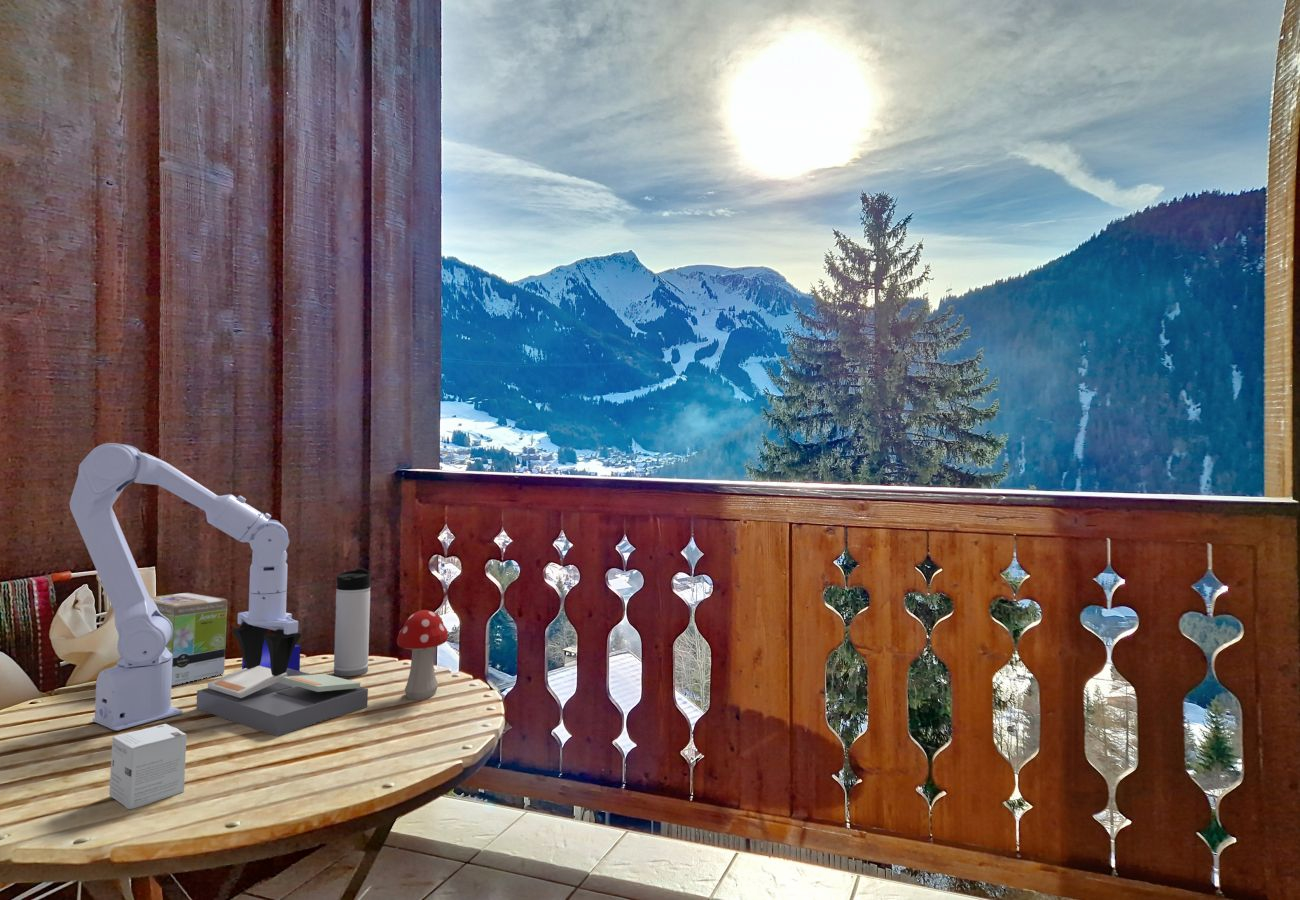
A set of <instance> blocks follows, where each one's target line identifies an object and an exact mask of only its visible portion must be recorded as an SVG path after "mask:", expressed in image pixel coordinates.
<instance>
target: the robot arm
mask: <svg viewBox="0 0 1300 900" xmlns="http://www.w3.org/2000/svg"><path fill="white" fill-rule="evenodd" d="M77 474H78V475H77V478H76V480H75V483H74V487H73V489H72V494H71V497H70V500H69V508H70V510H69V511H71V515H72V516H73V518H74V522H75V523H76V526H77V528H78V530H79V533H80V535H81V537H82V540H83V542H84V544H85V547H86V549H87V551H88V554H89V556H90V558H91V561H92V563H93V565H94V568H95V570H96V573H97V574H98V578H99V580H100V581H101V584H102V586H103V589H104V591H105V593H106V596H107V599H108V600H109V603H110V604H111V607H112V610H113V613H114V614H113V615H114V626H115V628H116V631H117V634H118V640H117V647H116V649H117V653H118V655H119V657H118V660H117V664H116V665H113V666H111V667H109V668H104V669H102V670H101V671H99V673H98V675H97V678H96V684H95V700H94V701H95V702H94V703H95V705H94V707H95V708H94V717H93V718H92V722H94V723H97V724H99V725H101V726H104V727H106V728H108V729H111V730H114V731H121V730H124V729H129V728H132V727H136V726H139V725H140V726H141V725H143V724H147V723H150V722H151V723H152V722H155V721H158V720H161V719H166V718H169V717H173V716H176V715H181V714H182V713H183V710H182V709H180V708H177V707H175V706H172V686H173V685H172V657H173V654H172V653H170V652H169V651H168V649H167V648H166V645H167V644H168V643H169V641H170V640H171V638H172V636H173V626H172V623H171V622H170V620H169V619H168V618H166V617H165V616H163V615H162V614H161V613H160V612H159V610H158V608H157V605H156V604H155V602H154V601H153V600H152V599H151V598H150V597H151V596H150V594H149V592H148V590H147V588H146V585H145V583H144V580H143V577H142V575H141V573H140V571H139V569H138V565H137V563H136V560H135V559H134V557H133V554H132V552H131V550H130V546H129V544H128V542H127V540H126V537H125V535H124V532H123V530H122V528H121V526H120V523H119V520H118V519H117V516H116V513H115V511H114V509H113V505H115V502H116V501H117V499H118V498H119V497H120V495H121V494H122V492H123V490H124V489H125V488H127V486H129V485H130V484H132V483H134V484H145V485H155V486H159V487H161V488H163V489H165V490H166V491H168V492H170V493H172V494H174V495H175V496H178V498H181V499H183V500H185V501H186V502H188V503H190V504H191V505H193V506H195V507H197V508H199V509H201V510H202V511H204V513H205V516H206V522H207V523H208V524H210V525H211V526H213V527H214V528H217V530H220V531H221V532H223V533H225V535H226V534H227V535H228V536H230V537H232V538H234V540H237V542H238V541H239V542H241V543H249V546H250V549H251V550H252V555H251V564H250V566H249V588H248V589H249V592H248V611H241V612H238V613H237V625H240V626H239V627H234V628H233V629H232V634H233V636H235V638H236V640H237V641H238V644H239V648H240V650H241V652H242V653H241V654H242V657H243V658H244V662H245V666H246V668H247V669H249V668H254V667H256V666H260V663H261V658H262V649H263V644H264V640H265V641H266V643H267V646H268V649H269V654H270V665H271V673H272V675H273V676H276V675H280V674H283V673H286V670H287V667H288V664H289V660H290V657H291V654H292V651H293V649H294V647H295V645H297V643H298V642H299V640H300V639H301V637H302V631H301V630H300V631H299V621H298V620H295V619H293V618H292V617H293V614H292V613H290V612H287V596H288V595H287V590H288V563H287V560H288V553H287V549H288V547H289V545H290V539H289V533H288V530H287V528H286V526H284V525H283V524H282V523H281V522H280V521H279V520H276V519H271V518H272V514H270V513H268V512H266V513H265V514H264V513H263V512H261V511H259V510H257V509H256V508H255V507H253V506H251V505H250V504H248V503H246V501H247V498H245V497H243V496H242V495H238V497H236V496H235V495H233V494H231V493H230V494H224V495H217V494H216V493H214V492H213V491H211V490H209V489H208V488H207V487H205V486H203V485H202V484H201V483H199V482H197V481H196V480H194V479H193V478H191V477H190V476H188V475H187V474H186V473H184V472H182V471H180V470H179V469H177V468H176V467H175V466H173V465H172V464H170V463H168V462H166V461H164V460H162V459H160V458H158V457H157V456H154V455H151V454H149V453H147V452H141V451H140V450H139V448H137V447H136V446H133V445H130V444H123V443H116V442H109V443H102V444H100V445H98V446H96V447H94V448H93V449H92V450H91V451H90V452H89V453H88V454H87V455H86V457H85V458H84V459H83V460H82V461H81V462H80V463H79V465H78V473H77ZM268 630H271V631H275V632H273V633H269V634H267V633H268ZM171 685H172V686H171Z"/></svg>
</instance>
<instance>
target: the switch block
mask: <svg viewBox="0 0 1300 900" xmlns="http://www.w3.org/2000/svg"><path fill="white" fill-rule="evenodd" d="M286 673H287V676H302V675H314V674H311V673H308V672H306V671H305V672H304V671H302V670H300V671H297V670H293V669H289V668H287V670H286ZM281 681H282V680H281ZM281 681H279V682H277V683H274V684H272V685H270V686H268V687H265V688H263V689H261V690H259V691H256V692H254V693H252V694H250V695H247V696H245V697H243V698H238V697H235V696H232V695H229V694H226V693H222V692H219V691H216V690H213V689H209V688H208V687H206V688H202V689H197V690H196V704H195V705H196V707H195V708H196V710H199V711H201V712H202V711H203V712H205V713H208V714H211V715H212V716H216V717H220V718H222V719H225V720H229V721H231V722H235V723H237V724H239V725H240V724H241V725H243V726H246V727H249V728H252V729H255V730H257V731H260V732H264V733H267V734H269V735H271V736H272V735H273V736H275V737H280V736H282V734H283V735H286V734H289V733H292V732H295V731H298V730H300V728H301V729H304V728H307V727H309V725H310V726H313V725H315V724H314V723H316V724H318V723H317V722H319V723H321V722H320V721H322V722H324V721H323V720H325V721H327V720H326V719H328V720H330V719H329V718H331V719H334V718H337V717H340V716H343V715H346V714H349V713H352V712H355V711H359V710H361V709H365V708H367V707H368V705H369V704H368V703H369V702H368V700H369V698H368V697H369V696H368V695H369V689H368V688H366V687H362V686H360V688H353V689H343V690H332V691H321V692H316V691H313V690H309V689H305V688H302V687H298V686H295V685H291V684H287V683H284V682H281ZM333 717H334V718H333ZM312 724H313V725H312ZM306 726H307V727H306ZM297 729H298V730H297ZM285 733H286V734H285ZM279 735H280V736H279Z"/></svg>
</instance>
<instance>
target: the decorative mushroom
mask: <svg viewBox="0 0 1300 900" xmlns="http://www.w3.org/2000/svg"><path fill="white" fill-rule="evenodd" d="M400 629H401V628H400ZM448 639H449V631H448V629H447V627H446V626H445V624H444V623H443V621H442V619H441V617H440V616H439V615H438V613H435V612H434V611H433V610H428V609H422V610H419V611H416V612H414V613H412V614H411V615H410V616H409V617H408V619H407V620H406V621H405V623H404V625H403V627H402V629H401V630H400V631H399V632H398V634H397V637H396V645H397V646H398V647H400V648H403V649H406V650H411V661H410V669H409V675H408V681H407V682H406V685H405V688H404V692H405V695H406V698H407V699H408V698H409V700H412V699H413V701H414V699H420V700H424V698H425V699H428V697H429V698H431V697H433V696H435V695H436V693H437V690H438V686H439V683H438V679H437V678H436V673H435V667H434V666H435V665H434V648H437V647H438V646H441V645H443V644H445V643H447V642H448Z"/></svg>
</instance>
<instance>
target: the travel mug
mask: <svg viewBox="0 0 1300 900" xmlns="http://www.w3.org/2000/svg"><path fill="white" fill-rule="evenodd" d="M335 590H336V593H335V615H334V616H335V621H334V622H335V623H334V624H335V625H334V652H333V653H334V654H333V657H334V658H333V674H334V675H335V677H340V678H342V677H343V678H345V677H346V678H348V677H349V678H350V677H357V676H361V675H365V674H366V673H367V672H368V670H369V648H370V647H369V645H370V644H369V643H370V618H371V617H370V614H371V613H370V611H371V609H370V608H371V571H370V570H367V568H356V569H355V570H348V571H343V572H340V573H338V574H337V575H336V589H335Z"/></svg>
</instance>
